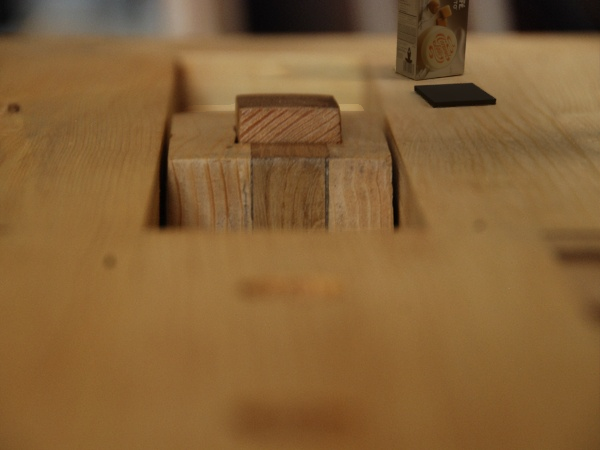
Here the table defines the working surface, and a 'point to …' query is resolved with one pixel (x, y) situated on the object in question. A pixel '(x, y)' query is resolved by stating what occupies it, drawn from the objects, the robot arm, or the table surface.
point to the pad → (454, 95)
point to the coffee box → (431, 38)
